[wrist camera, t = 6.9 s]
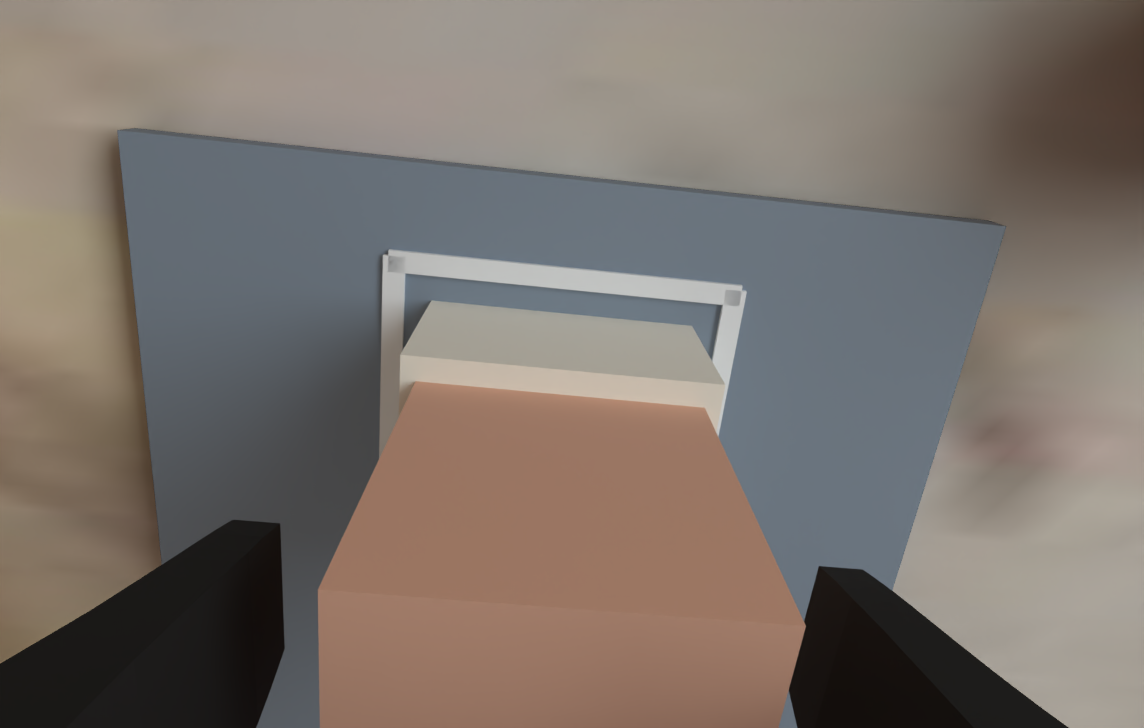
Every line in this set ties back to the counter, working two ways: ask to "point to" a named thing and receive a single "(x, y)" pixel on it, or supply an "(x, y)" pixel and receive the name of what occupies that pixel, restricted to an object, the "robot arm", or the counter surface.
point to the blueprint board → (311, 342)
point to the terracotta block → (553, 574)
